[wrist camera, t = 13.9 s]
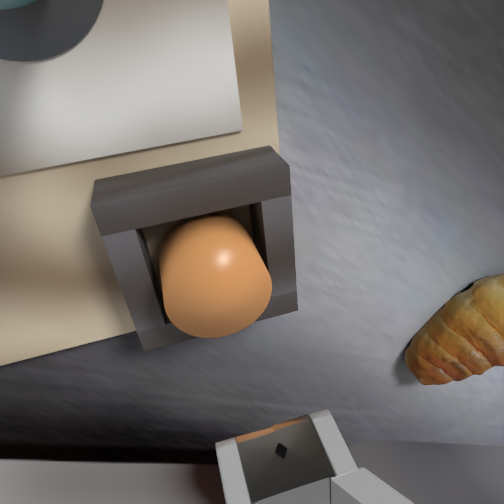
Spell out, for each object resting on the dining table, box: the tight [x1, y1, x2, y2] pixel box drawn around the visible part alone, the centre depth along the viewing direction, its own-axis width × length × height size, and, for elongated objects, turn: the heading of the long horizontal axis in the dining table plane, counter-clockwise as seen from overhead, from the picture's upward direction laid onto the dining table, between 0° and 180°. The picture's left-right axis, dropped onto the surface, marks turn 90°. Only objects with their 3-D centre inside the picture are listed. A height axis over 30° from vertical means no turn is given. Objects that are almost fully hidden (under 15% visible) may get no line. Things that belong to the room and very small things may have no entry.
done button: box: [158, 212, 272, 338], centre depth 16 cm, size 4×4×3 cm
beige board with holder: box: [0, 0, 298, 366], centre depth 13 cm, size 23×18×4 cm
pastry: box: [404, 274, 504, 385], centre depth 27 cm, size 9×7×4 cm
